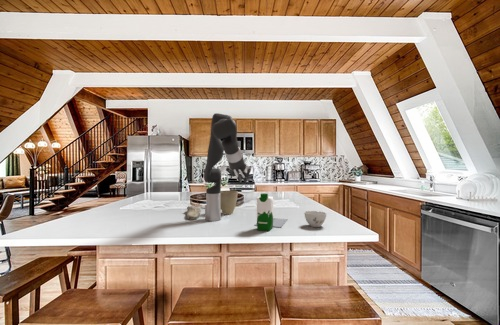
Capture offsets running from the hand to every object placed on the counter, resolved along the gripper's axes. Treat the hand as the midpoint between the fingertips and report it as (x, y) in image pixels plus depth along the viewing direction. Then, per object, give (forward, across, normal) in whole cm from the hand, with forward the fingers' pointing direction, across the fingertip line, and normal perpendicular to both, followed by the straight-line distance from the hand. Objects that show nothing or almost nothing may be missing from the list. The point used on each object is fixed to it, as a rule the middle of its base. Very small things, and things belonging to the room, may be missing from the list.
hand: (242, 180), depth 135 cm
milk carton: (+30, -8, +9) cm, 33 cm away
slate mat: (+42, -8, -2) cm, 43 cm away
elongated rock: (+47, +50, -7) cm, 69 cm away
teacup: (+42, -34, -3) cm, 54 cm away
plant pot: (+55, +29, -15) cm, 64 cm away
